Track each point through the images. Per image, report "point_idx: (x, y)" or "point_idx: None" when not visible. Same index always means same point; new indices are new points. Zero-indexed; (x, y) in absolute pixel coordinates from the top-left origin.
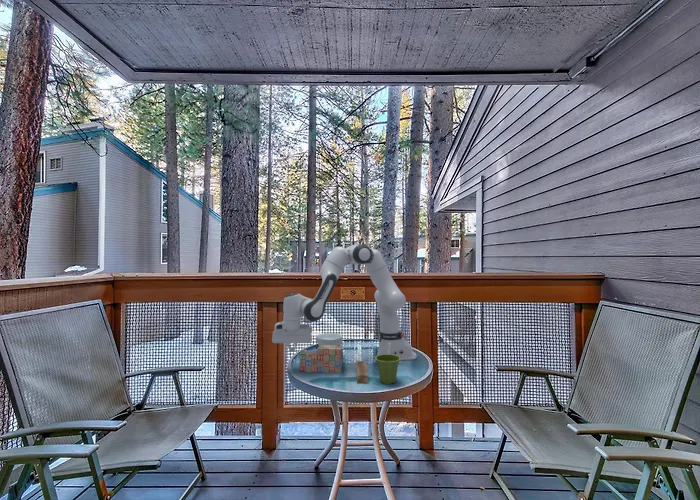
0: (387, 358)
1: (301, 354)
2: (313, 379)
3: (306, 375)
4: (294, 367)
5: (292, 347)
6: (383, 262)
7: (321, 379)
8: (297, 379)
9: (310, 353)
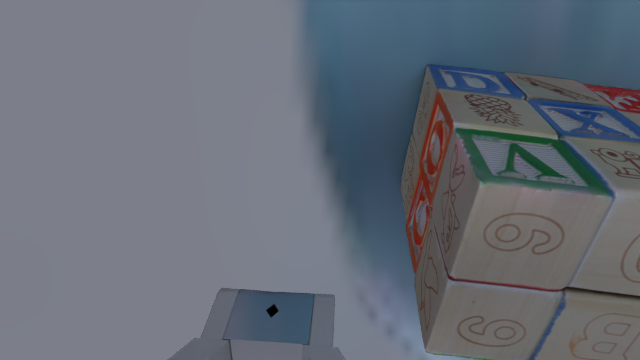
0: None
1: (456, 350)
2: None
3: None
4: (325, 55)
5: (268, 343)
6: None
7: None
8: (389, 335)
9: (625, 350)
